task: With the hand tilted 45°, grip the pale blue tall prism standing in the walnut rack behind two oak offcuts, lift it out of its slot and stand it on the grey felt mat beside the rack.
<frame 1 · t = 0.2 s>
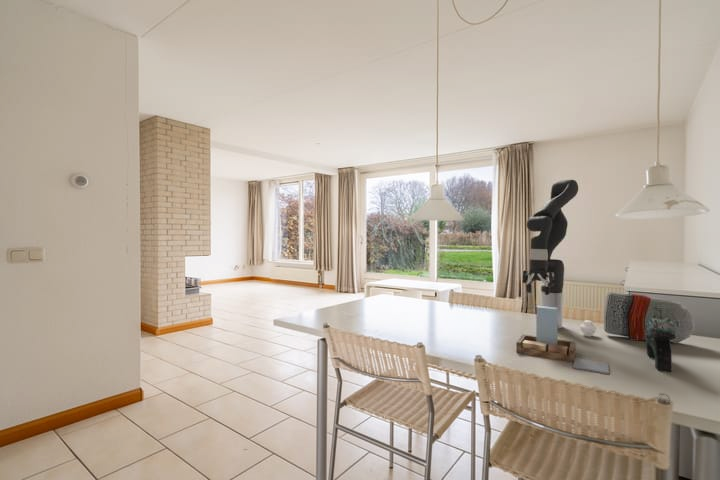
hand: (537, 293, 165), 18 cm above the table, tool pointing down, fingers open, 8 cm apart
pale blue tall prism: (546, 328, 139), in the rack
offcut short: (557, 357, 132), resting in rack
rack: (546, 350, 140), on the table
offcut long: (534, 353, 137), resting in rack
white rounded lump: (587, 335, 159), on the table
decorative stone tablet: (646, 340, 152), on the table
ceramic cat: (656, 363, 125), on the table
mat: (590, 366, 122), on the table
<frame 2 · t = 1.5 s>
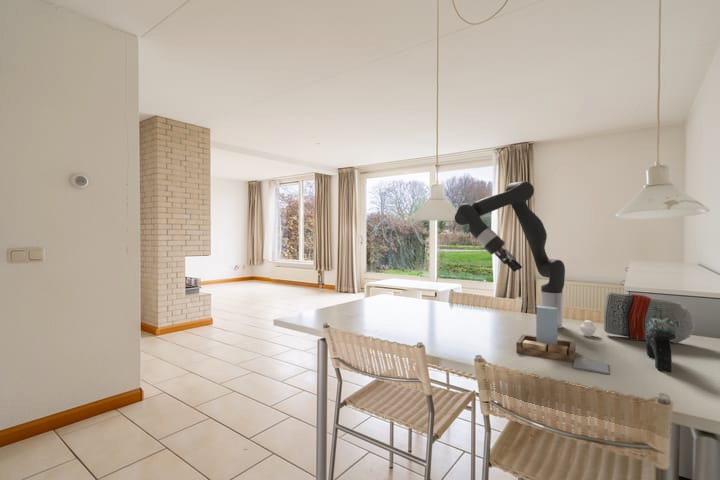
hand: (518, 269, 146), 31 cm above the table, tool tilted 45°, fingers open, 8 cm apart
nothing on the table moved.
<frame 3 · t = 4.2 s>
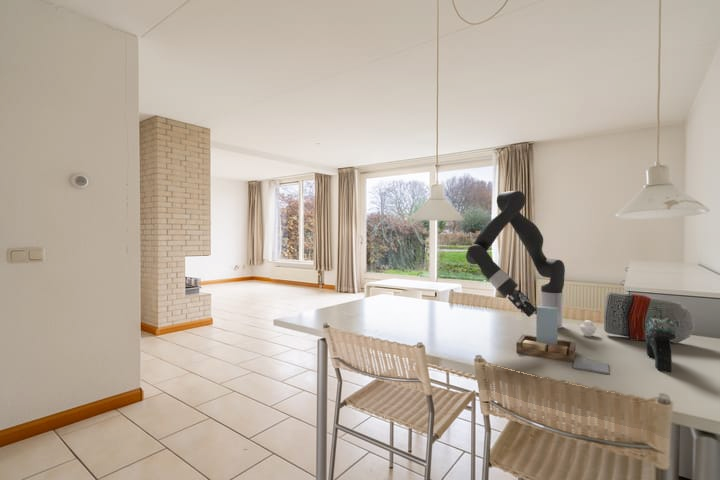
hand: (532, 313, 142), 14 cm above the table, tool tilted 45°, fingers open, 8 cm apart
nothing on the table moved.
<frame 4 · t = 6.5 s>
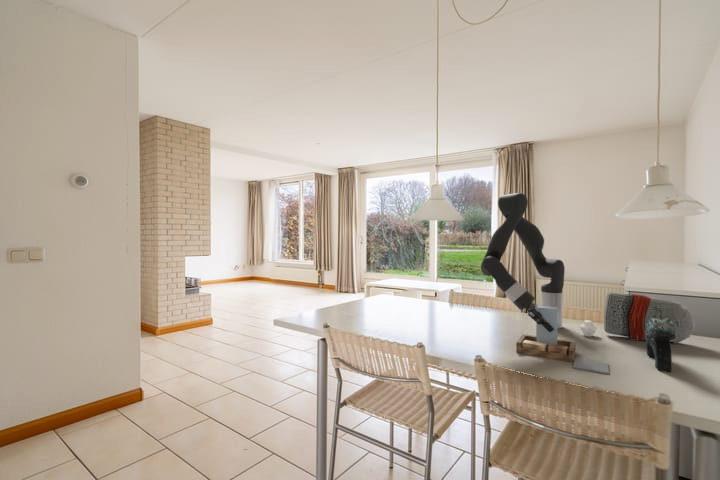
hand: (552, 329, 138), 9 cm above the table, tool tilted 45°, fingers closed on pale blue tall prism, 3 cm apart
pale blue tall prism: (546, 328, 139), in the rack, touching gripper
everything else where it was.
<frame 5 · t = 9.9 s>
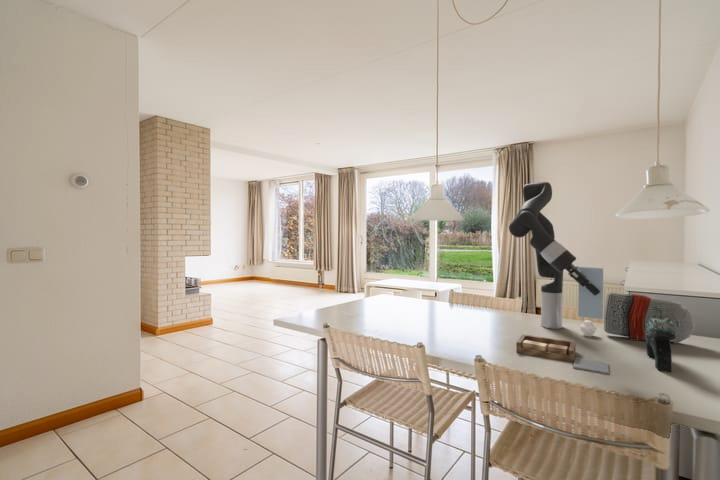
hand: (597, 292, 121), 26 cm above the table, tool tilted 45°, fingers closed on pale blue tall prism, 3 cm apart
pale blue tall prism: (590, 292, 122), point 26 cm above the table, touching gripper
everything else where it was.
when the fingers open (10 cm above the table, at t = 13.2 s): pale blue tall prism stays where it is, resting on mat.
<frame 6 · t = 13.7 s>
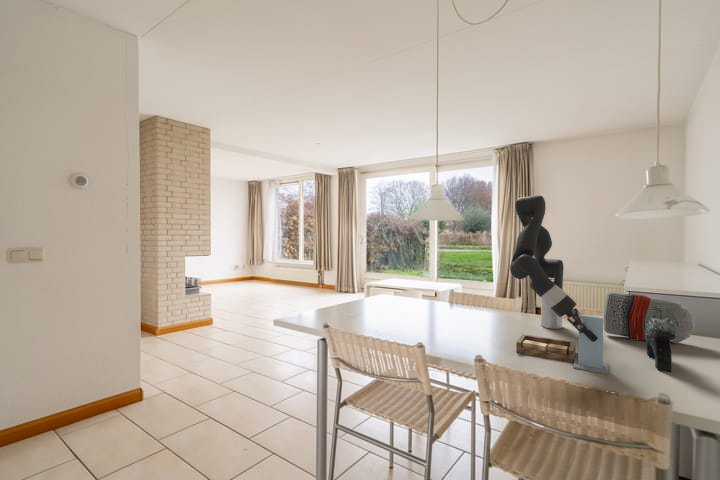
hand: (595, 337, 121), 10 cm above the table, tool tilted 45°, fingers open, 8 cm apart
pale blue tall prism: (590, 340, 122), on the mat, point 9 cm above the table
everything else where it was.
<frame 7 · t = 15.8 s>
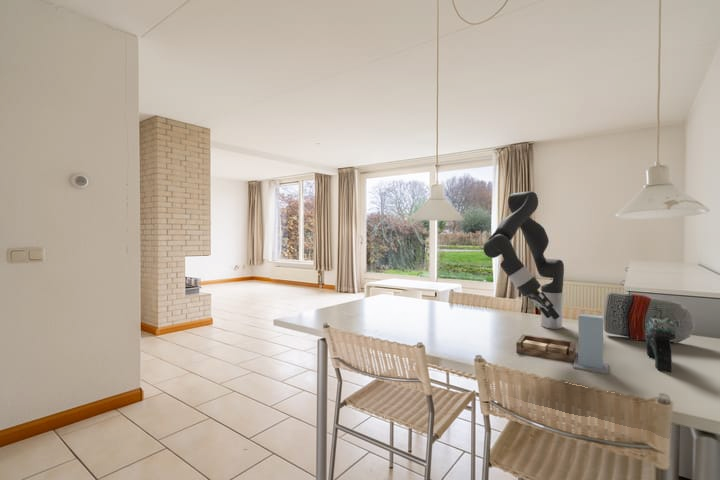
hand: (553, 317, 130), 15 cm above the table, tool tilted 35°, fingers open, 8 cm apart
nothing on the table moved.
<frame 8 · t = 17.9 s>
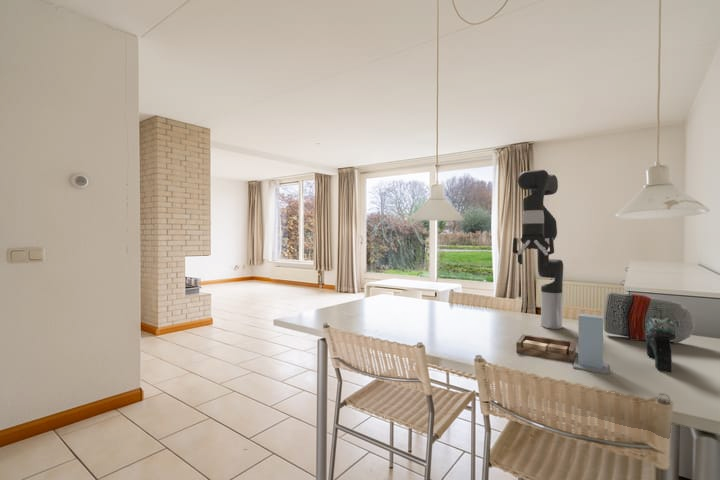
hand: (532, 264, 136), 34 cm above the table, tool pointing down, fingers open, 8 cm apart
nothing on the table moved.
at the end: pale blue tall prism inside the target area on the mat (0.1 cm from its centre), point 9.1 cm above the mat's base; pale blue tall prism tilted 0°; the gripper is holding nothing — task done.
